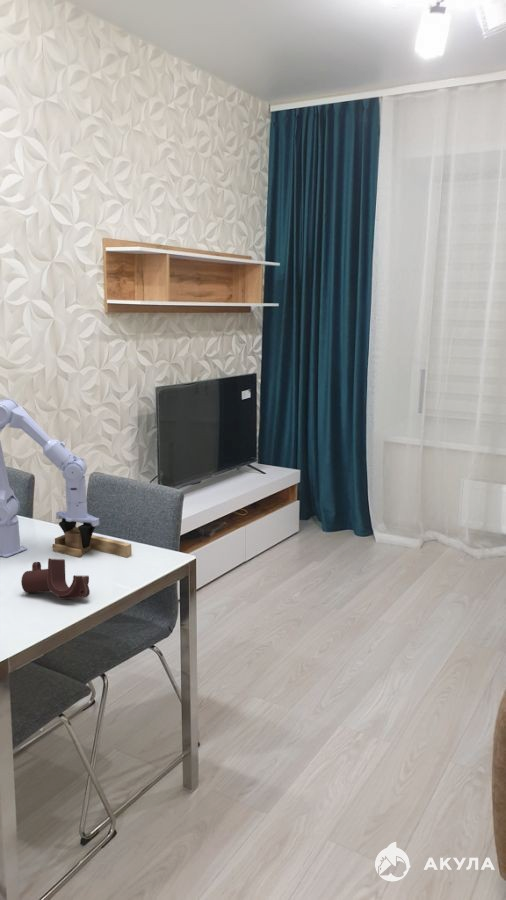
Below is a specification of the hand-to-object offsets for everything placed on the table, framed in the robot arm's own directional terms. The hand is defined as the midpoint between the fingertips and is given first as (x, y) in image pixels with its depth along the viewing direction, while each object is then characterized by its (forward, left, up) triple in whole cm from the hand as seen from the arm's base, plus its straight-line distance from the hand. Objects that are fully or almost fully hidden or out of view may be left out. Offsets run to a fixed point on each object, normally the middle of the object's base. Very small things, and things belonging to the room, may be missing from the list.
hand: (78, 545), depth 209 cm
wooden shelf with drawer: (+4, 0, -2) cm, 5 cm away
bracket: (+18, -25, -2) cm, 31 cm away
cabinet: (0, 0, -2) cm, 2 cm away
